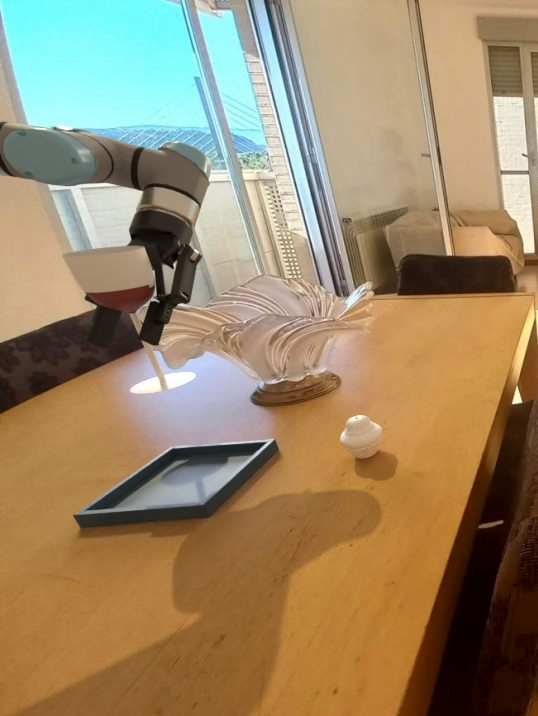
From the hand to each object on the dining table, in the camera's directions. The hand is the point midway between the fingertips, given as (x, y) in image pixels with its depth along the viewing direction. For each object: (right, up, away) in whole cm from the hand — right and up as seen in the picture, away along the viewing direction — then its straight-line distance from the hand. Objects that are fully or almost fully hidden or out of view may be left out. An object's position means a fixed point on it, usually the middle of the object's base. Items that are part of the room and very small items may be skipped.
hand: (123, 343), depth 73 cm
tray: (+12, -21, -1) cm, 24 cm away
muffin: (+35, -18, +5) cm, 40 cm away
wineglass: (0, -7, +7) cm, 9 cm away
